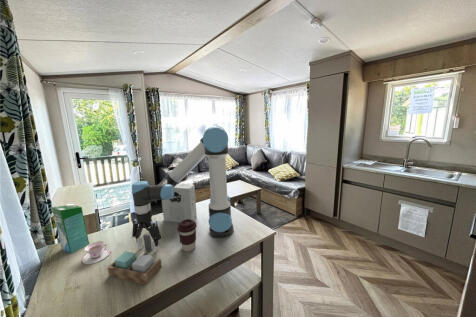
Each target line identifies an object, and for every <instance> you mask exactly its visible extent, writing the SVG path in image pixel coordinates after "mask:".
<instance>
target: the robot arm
mask: <svg viewBox="0 0 476 317" xmlns="http://www.w3.org/2000/svg"><path fill="white" fill-rule="evenodd" d="M228 154H229V135H228V133H227V131H226V130H225V129H224V127H222V126H220V125H213V126H212V125H211V126H210V127H208V128H207V129H206V130H205V131H204V133H203V135H202V137H201V138H200V139H199V143H198V144H197V145H196V146H195V147H194V148H193V149H192V150H191V151H190V152H189V153H188V154H187V155H186V156H185V157H184V158H183V159H182V160H181V161H180V162H179V163H178V164H177V165H176V166H175V167H174V168H173V169H172V170H170V172H169V173H168V174H167V175H166V176H165V177H164V178H163V179H162V180H161V181H160V182H159V183H158V184H155V185H154V184H153V185H151V184H149V182H148V181H147V180H139V181H135V182H133V183H132V184H131V194H132V200H133V208H134V213H135V214H134V216H135V219H133V220H132V221H131V223H132V232H131V237H133V238H135V240H136V244H137V250H138V251H140V250H142V249H143V248H144V240H143V235H142V232H143V229H146V231H147V233H149V234H150V238H152V239H151V240H152V250H153V253H155V254H156V252H158V251H159V245H160V242H159V241H160V240H161V239H162V234H161V232H160V228H159V225H158V223H159V222H158V221H157V220H155V221H153V219H152V217H153V213H152V206H151V201H162V200H167V199H172V198H173V196H174V187H175V186H176V185H177V184H180V182H181V181H182V180H183V179H184V178H185V177H186V176H187V175H188V174H189V173H190V172H191V171H192V170H194V168H195V167H197V165H198V164H199V163H200V162H201V161H203V159H205V158H206V157H207V160H208V162H207V163H208V173H209V174H208V175H209V176H208V177H209V186H210V187H209V189H210V199H209V204H208V217H209V218H208V225H209V228H208V232H209V234H210V236H212V237H214V238H219V239H220V238H227V237H230V235H232V234H233V232H234V224H233V218H232V206H231V205H232V204H231V198H230V196H229V195H228V183H227V180H228V179H227V167H226V166H227V165H226V159H227V157H226V156H227V155H228Z"/></svg>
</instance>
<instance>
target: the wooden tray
mask: <svg viewBox="0 0 476 317" xmlns="http://www.w3.org/2000/svg"><path fill="white" fill-rule="evenodd" d="M161 260H162V259H161V258H158V259H157V260H155V262H154V264H153V265H152V266H151V267H150V268H149V269H148V271H147V272H146V273H140V272H136V271H133V268H132V265H131V266H130V267H129V268H128V269H122V268H118V267H116V266H115V261H113V262H112V263H111V264H109V265H108V266H107V272H108V276H109V277H113V278H116V279H120V280H121V279H122V280H125V281H130V282H134V283H138V284H140V285H141V284H142V285H148V284H149V283H150V282H151V281H152V279H153V278H154V277H155V275H156V274H157V273H158V272H159V271H160V270H161V268H162V262H161Z"/></svg>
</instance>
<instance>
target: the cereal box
mask: <svg viewBox="0 0 476 317" xmlns="http://www.w3.org/2000/svg"><path fill="white" fill-rule="evenodd" d="M195 188H196V187H195V184H185V183H178V184H177V185H176V186H175V187H174V196H173V198H172V199H167V200H161V206H162V208H161V209H162V216H163V218H162V219H163V221H165V222H172V223H173V222H174V223H181V221H183V220H186V219H191V220H193V221H195V222H196V220H197V219H198V217H197V215H198V214H197V201H196V189H195Z"/></svg>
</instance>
